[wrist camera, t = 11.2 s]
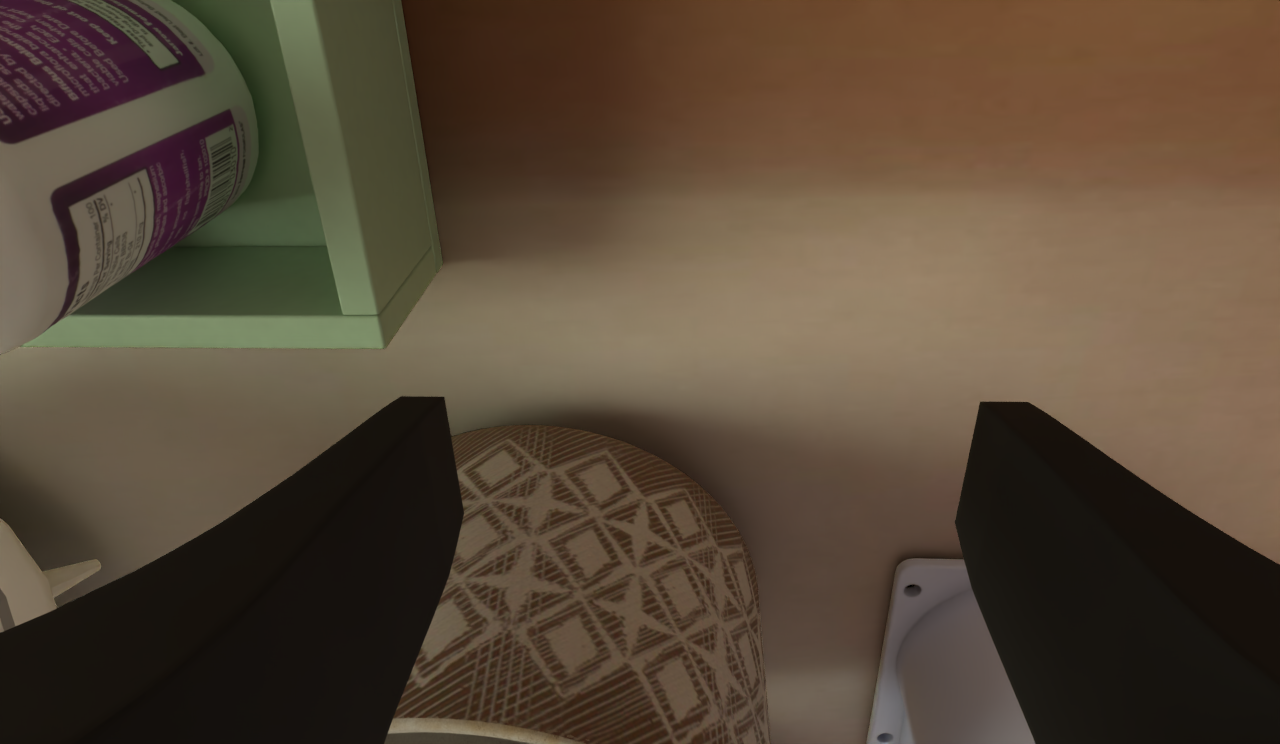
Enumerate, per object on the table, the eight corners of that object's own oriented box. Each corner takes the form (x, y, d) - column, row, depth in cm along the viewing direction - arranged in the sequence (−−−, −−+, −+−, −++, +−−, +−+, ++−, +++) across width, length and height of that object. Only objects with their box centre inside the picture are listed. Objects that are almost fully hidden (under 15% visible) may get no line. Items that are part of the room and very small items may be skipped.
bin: (443, 265, 22) (386, 350, 18) (56, 265, 22) (-84, 347, 18) (364, -239, 16) (256, -279, 12) (-142, -216, 17) (-399, -248, 13)
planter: (276, 485, 25) (46, 810, 16) (650, 337, 22) (615, 645, 13) (488, 734, 31) (401, 1081, 22) (813, 647, 28) (868, 1013, 19)
